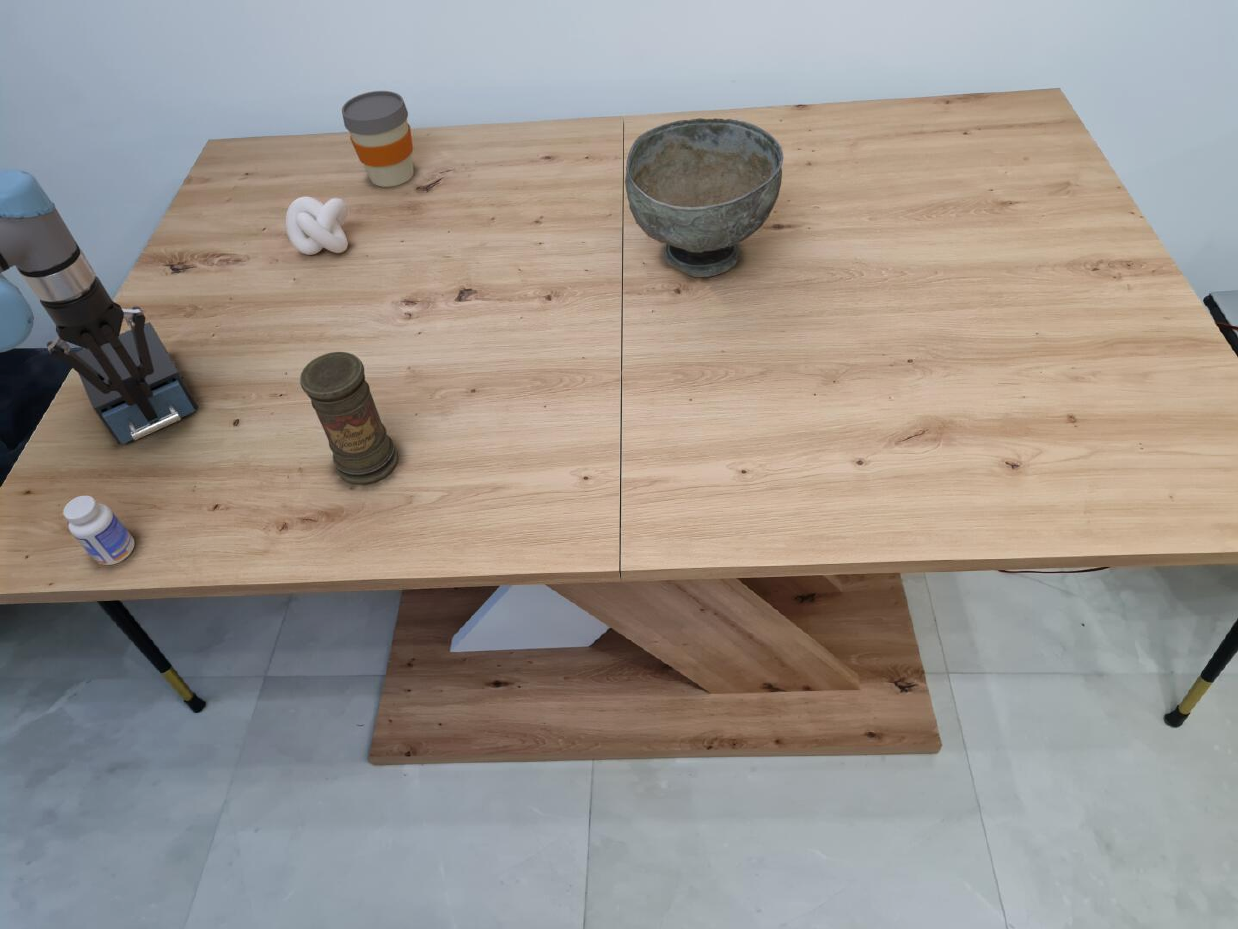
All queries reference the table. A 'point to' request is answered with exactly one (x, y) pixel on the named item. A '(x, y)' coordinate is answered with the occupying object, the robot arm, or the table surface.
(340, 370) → the container
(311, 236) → the white knot sculpture
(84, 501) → the pill bottle
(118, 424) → the drawer
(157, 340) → the small cabinet
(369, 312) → the table surface
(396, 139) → the reusable coffee cup
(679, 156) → the decorative bowl
